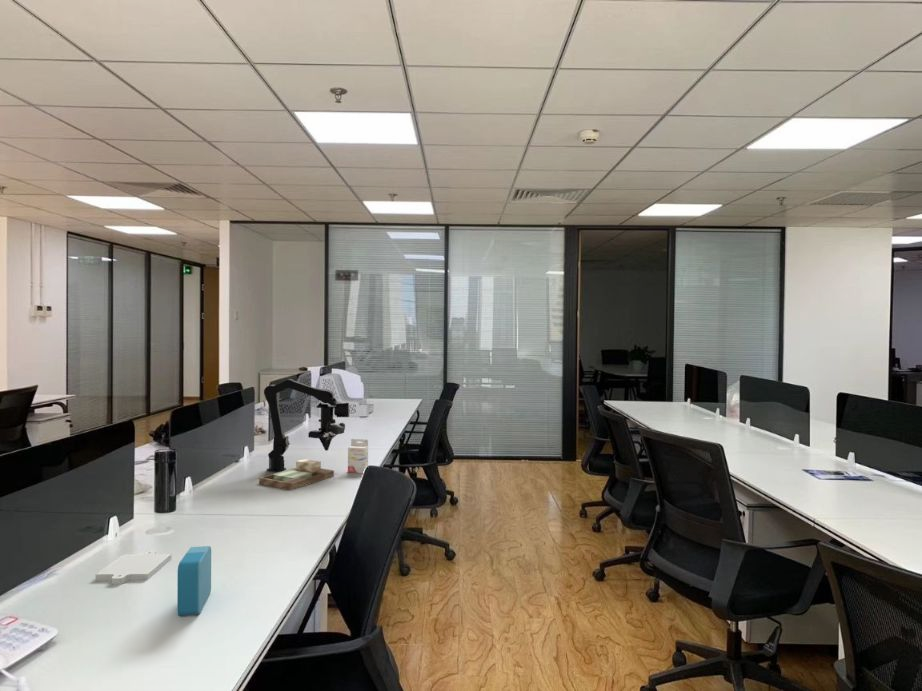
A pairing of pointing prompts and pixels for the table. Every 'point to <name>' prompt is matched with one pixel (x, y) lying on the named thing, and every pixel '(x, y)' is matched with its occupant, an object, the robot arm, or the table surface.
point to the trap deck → (295, 478)
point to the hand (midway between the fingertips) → (326, 450)
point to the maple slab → (308, 465)
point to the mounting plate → (134, 567)
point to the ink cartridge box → (357, 456)
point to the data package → (194, 580)
